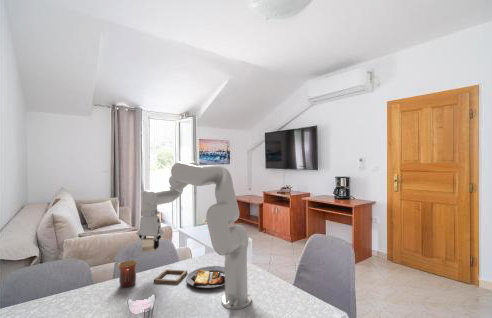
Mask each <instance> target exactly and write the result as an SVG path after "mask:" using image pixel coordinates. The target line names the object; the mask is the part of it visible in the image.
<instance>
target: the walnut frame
mask: <svg viewBox="0 0 492 318" xmlns="http://www.w3.org/2000/svg"><path fill="white" fill-rule="evenodd" d="M171 273H172V274H174V275H179V276H178V277H177V278H176V279H166V278H164V279H163V277H165V275H167V274H171ZM187 275H188V270H183V269H167V268H166V269H164V270H163V271H162V272H161V273H159V275H157V276H156V277H154V279H153V284H167V285H178V284H179V283H180V282H181V281H182V280H183V279H184V278H185V277H186V276H187Z"/></svg>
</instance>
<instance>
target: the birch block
mask: <svg viewBox="0 0 492 318" xmlns="http://www.w3.org/2000/svg"><path fill="white" fill-rule="evenodd" d="M154 241H155V239H154V236H147V237H146V238H145V239H143V240H142V241H141V250H142V251H141V252H142V253H143V252H145V253H153V252H155V251H157V250H159V247H160V246H159V247H158V248H156V249H154Z"/></svg>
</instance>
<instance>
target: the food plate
mask: <svg viewBox="0 0 492 318" xmlns="http://www.w3.org/2000/svg"><path fill="white" fill-rule="evenodd" d="M210 272H213V273H210ZM218 272H219V273H218ZM222 273H223V274H225V266H220V265H218V266H217V265H213V266H209V265H208V266H205V267H199V268H196V269H193V270H192V271H191V272H189V273H188V274H187V277H186V280H185V283H186V284H188V285H189V286H191V287H194V288H198V289H199V288H200V289H214V288H215V289H216V288H218V287H225V275H224V276H222V275H223V274H222ZM221 274H222V275H221ZM220 275H221V276H220Z"/></svg>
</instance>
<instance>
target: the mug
mask: <svg viewBox="0 0 492 318" xmlns="http://www.w3.org/2000/svg"><path fill="white" fill-rule="evenodd" d="M137 264H138V261H137V260H136V259H134V260H133V259H132V260H131V259H130V260H124V261H120V262H119V263H117V268H118V273H119V279H118V283H119V286H120V287H121V288H129V287H133V286H134V285H135V284H136V282H137Z"/></svg>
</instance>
